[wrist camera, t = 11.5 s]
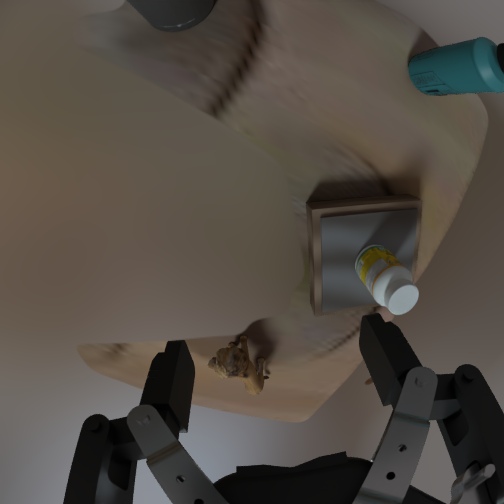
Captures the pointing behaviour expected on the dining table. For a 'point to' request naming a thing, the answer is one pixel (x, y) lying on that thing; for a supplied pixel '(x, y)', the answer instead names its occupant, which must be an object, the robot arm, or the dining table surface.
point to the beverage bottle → (460, 68)
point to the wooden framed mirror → (356, 245)
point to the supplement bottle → (386, 279)
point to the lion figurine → (239, 366)
